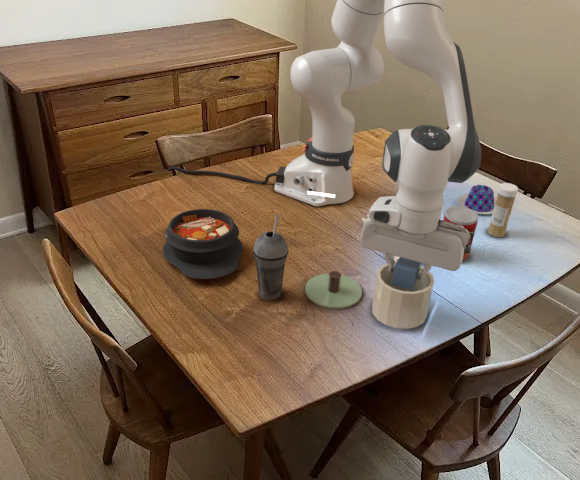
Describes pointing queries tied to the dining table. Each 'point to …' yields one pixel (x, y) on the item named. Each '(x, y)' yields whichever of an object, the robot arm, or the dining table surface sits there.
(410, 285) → the block
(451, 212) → the canned food
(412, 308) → the jar
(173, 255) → the casserole
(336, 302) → the lid
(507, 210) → the sprinkles bottle
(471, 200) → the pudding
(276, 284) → the beverage cup
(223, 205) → the dining table surface
